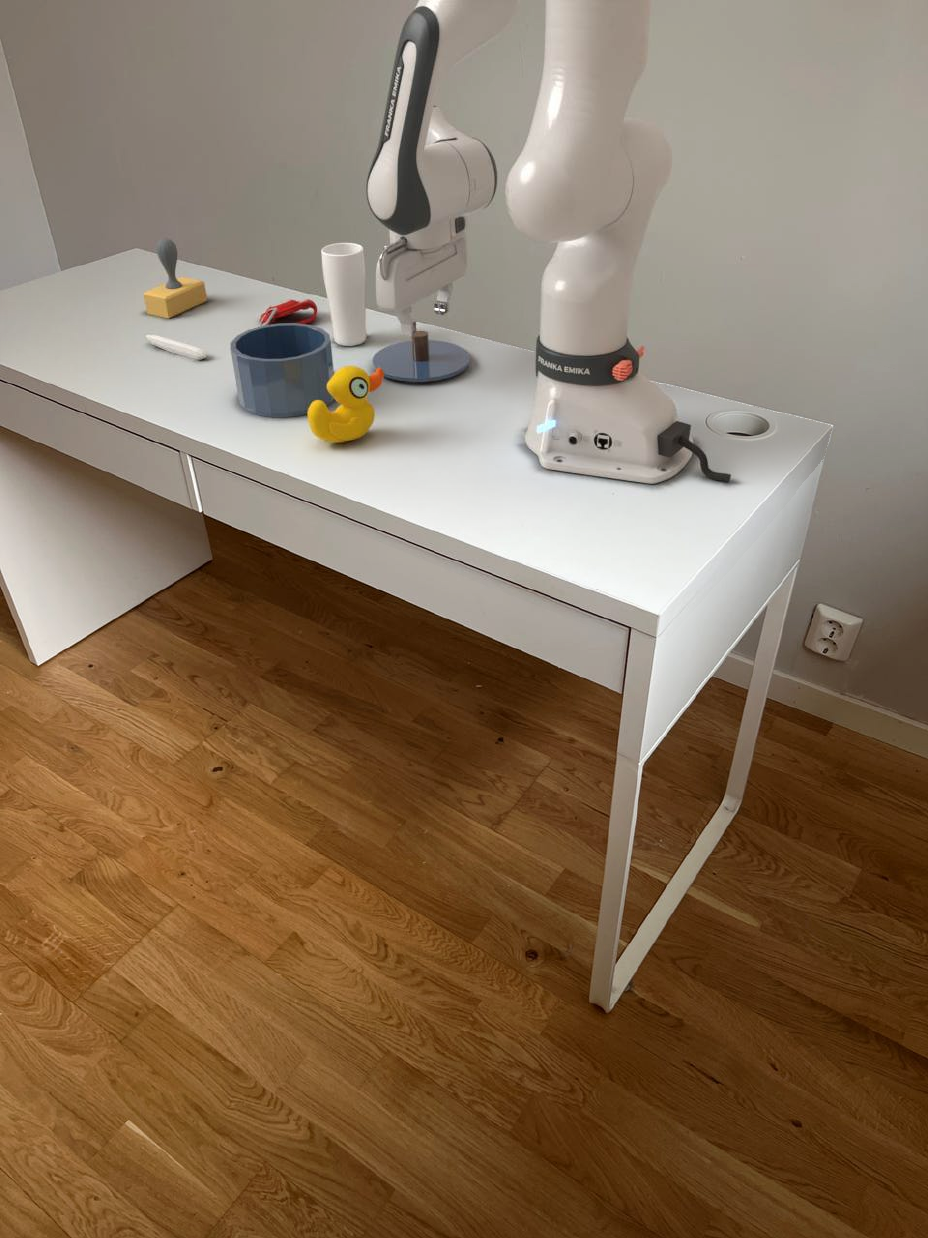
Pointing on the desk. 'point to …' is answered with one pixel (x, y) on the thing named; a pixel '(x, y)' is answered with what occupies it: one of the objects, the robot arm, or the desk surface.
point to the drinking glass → (346, 291)
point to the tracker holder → (287, 311)
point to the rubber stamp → (173, 287)
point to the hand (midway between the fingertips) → (426, 323)
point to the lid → (421, 359)
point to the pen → (177, 347)
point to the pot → (282, 368)
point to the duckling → (346, 406)
